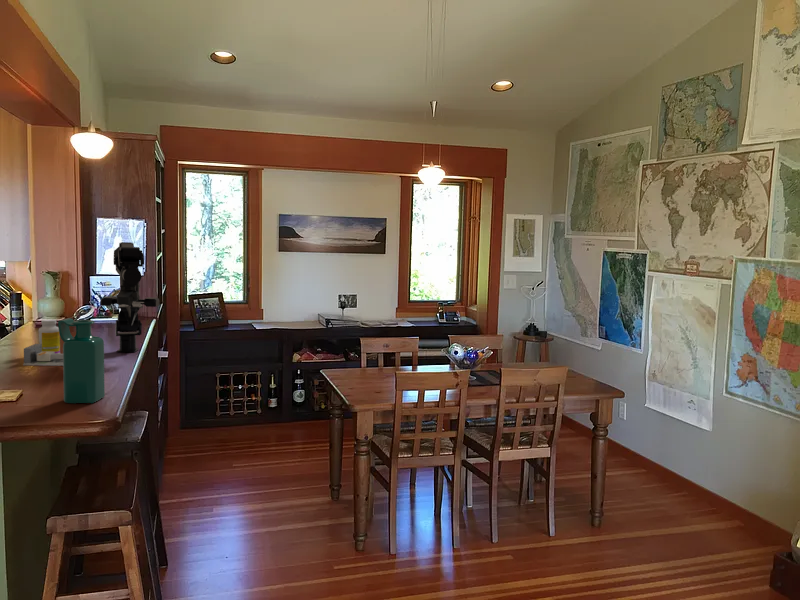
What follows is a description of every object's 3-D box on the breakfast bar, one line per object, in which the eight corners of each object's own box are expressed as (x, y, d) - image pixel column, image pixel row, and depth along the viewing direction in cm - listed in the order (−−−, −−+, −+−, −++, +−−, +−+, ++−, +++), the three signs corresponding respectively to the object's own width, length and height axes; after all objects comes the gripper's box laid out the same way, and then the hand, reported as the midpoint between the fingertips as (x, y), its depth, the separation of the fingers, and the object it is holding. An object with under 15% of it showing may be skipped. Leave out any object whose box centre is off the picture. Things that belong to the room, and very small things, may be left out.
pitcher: (107, 396, 173) (106, 318, 171) (93, 404, 165) (92, 322, 162) (71, 395, 173) (70, 317, 170) (55, 403, 164) (54, 321, 162)
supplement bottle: (63, 355, 224) (63, 320, 223) (44, 358, 219) (44, 322, 217) (54, 353, 228) (53, 318, 227) (35, 355, 222) (34, 320, 221)
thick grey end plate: (43, 358, 215) (43, 349, 214) (83, 358, 216) (83, 349, 216) (33, 362, 207) (33, 353, 207) (75, 363, 209) (75, 353, 208)
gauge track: (36, 359, 216) (36, 343, 216) (79, 359, 218) (78, 344, 218) (23, 365, 206) (22, 348, 206) (68, 365, 208) (67, 349, 208)
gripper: (94, 283, 211) (95, 328, 213) (151, 284, 214) (152, 329, 216) (105, 280, 222) (106, 323, 224) (159, 282, 225) (159, 324, 226)
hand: (130, 325), depth 222 cm, fingers closed
